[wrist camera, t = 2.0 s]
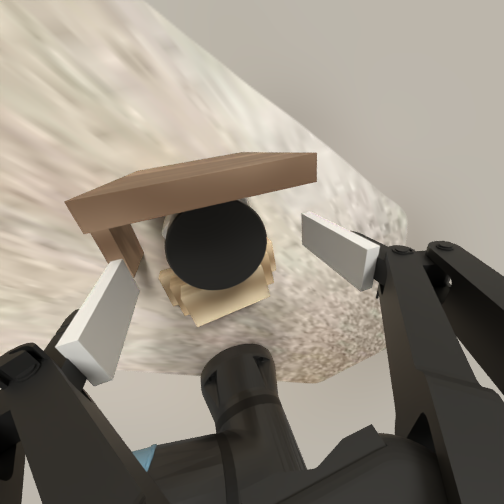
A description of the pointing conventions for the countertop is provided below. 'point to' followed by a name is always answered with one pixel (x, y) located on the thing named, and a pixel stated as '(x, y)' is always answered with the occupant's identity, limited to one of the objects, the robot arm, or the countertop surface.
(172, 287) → the offcut mid
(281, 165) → the rack
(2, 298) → the countertop surface
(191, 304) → the offcut short
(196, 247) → the jar
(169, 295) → the offcut long
